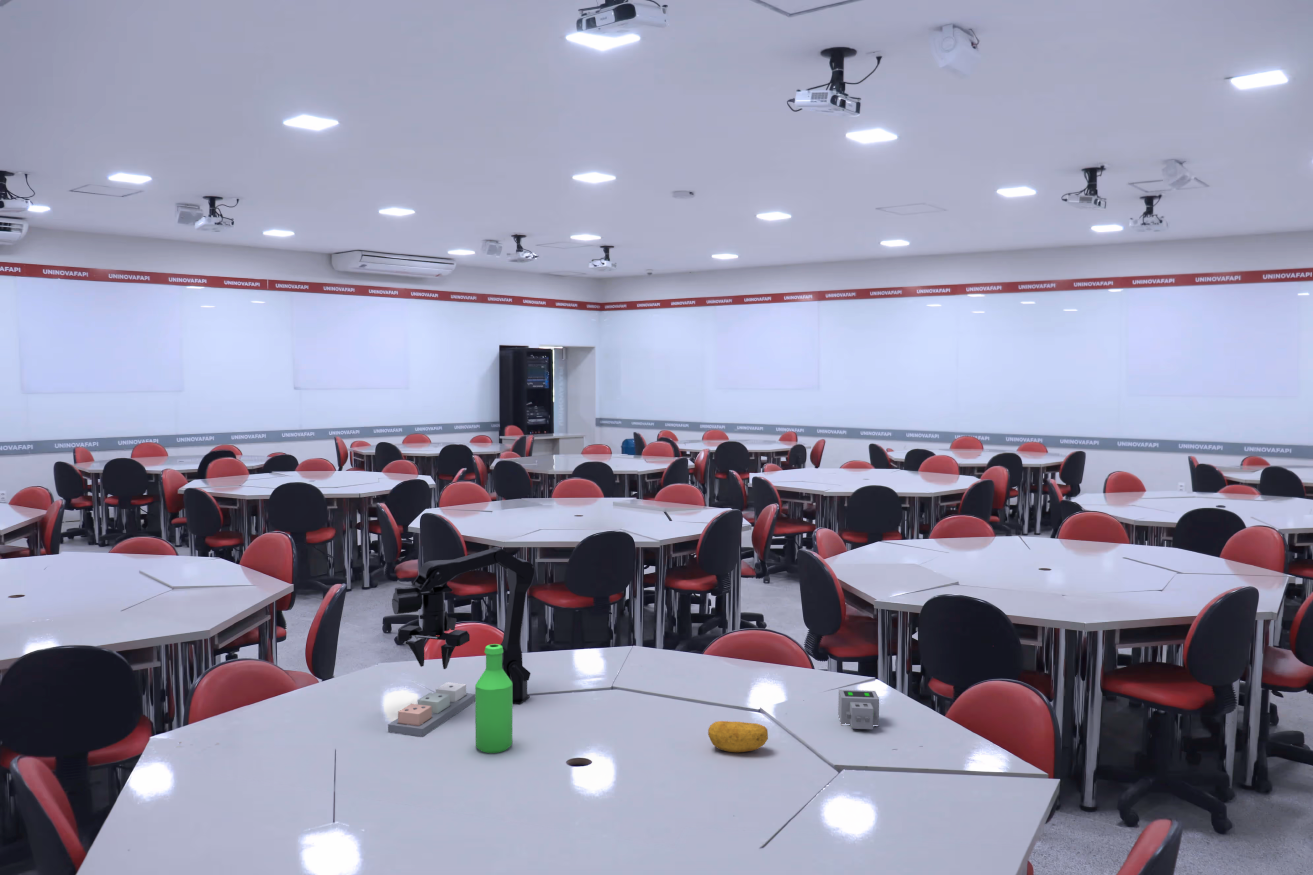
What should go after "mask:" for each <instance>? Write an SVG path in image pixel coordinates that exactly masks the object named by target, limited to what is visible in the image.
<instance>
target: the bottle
mask: <svg viewBox="0 0 1313 875" xmlns="http://www.w3.org/2000/svg"><path fill="white" fill-rule="evenodd" d="M502 653H503V647H502V646H501V644H500V643H499V644H498V643H493V644H492V643H491V644H488V645H486V646H485V648H484V654H485V670H484V671H483V673H482V674H481V676H480V677H479V679H478V680H477V681H476V684H475V689H474V690H475V691H474V692H475V693H474V694H475V705H474V706H475V710H474V711H475V713H474V714H475V747H476V749H478V750H479V751H481V752H482V753H485V754H486V753H487V754H497V753H498V754H499V753H502V752H505V751H506V750H508V749H509V748H510V747H511V746H512V745H513V707H514V706H513V704H514V703H513V683H512V681H511V680H510V679H509V677H508V676H507V674H506V673H505V672H504V670H503V669H502Z"/></svg>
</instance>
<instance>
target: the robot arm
mask: <svg viewBox="0 0 1313 875" xmlns="http://www.w3.org/2000/svg"><path fill="white" fill-rule="evenodd" d="M492 565H499V566H500V567H502V568H503V569H505V570H506V580H507V585H508V589H509V592H508V598H507V599H508V600H507V608H506V615H505V622H504V629H503V630H504V631H503V636H502V637H503V638H502V642H501V643H500V645H501V646H502V647H503V653H502V669H503V670H504V672H505V673H506V674H507V676H508V677H509V679H510V680H511V681H512V683H513V704H518V705H520V704H523V703H524V702H525V701H526V700H528V699H529V698H530V696H531V695H530V694H528V681H529V680H530V678H531V672H530V671H529V670H528V669H527V668H526V667H524V666H523V652H522V648H521V644H520V642H521V636H522V629H523V628H522V626H523V619H524V613H525V605H526V598H527V596H526V595H527V592H528V590H529V589H530V588H531V586H532V584H533V580H534V578H535V574H536V573H535V572H536V569H535V566H534V565H533V563H531V562H530V561H527V560H524V559H523V558H522V559H521V558H517V557H515V556H513V555H512V554H510V553H508V552H507V551H506V550H505V549H503V548H500V547H498V546H494V547H491V548H489V549H486V550H482V551H479V552H475V553H471V554H469V555H465V556H462V557H457V558H455V559H443V560H442V559H439V560H437V559H436V560H429V561H426V562H424V563H423V564H422V565H421V567H420V569H419V573H418V575H417V576H416V578H415V579H414V581H413V582H412V584H411V586H409V587H408V586H407V587H402V586H401V587H400V586H399V587H395V588H394V593H393V595H392V599H391V607H392V611H393V614H394V615H402V614H404V615H405V614H410V613H411V614H412V613H418V612H419V611H420V610H421V609H422V611H421V612H422V613H421V614H419V619H420V620H422V621H421V622H422V627H421V626H420V625H406V626H405V627H402V628H400V629H399V630H398V632H397V641H401V642H405V645H407V646H408V647H409V648H410V650H411V651H412V653H413V654H414V656H415V659H416V660H417V662H418V665H419V666H420V667H421V668H422V667H424V666H425V643H426V640H427V639H429V640H436V641H437V640H438V641H445V642H444V643H445V644H442V645H441V646H440V650H441V662H442V669H443V670H446V669H448V665H449V663H450V660H451V658H452V655H453V652H454V651H455V648H456V647H461V646H463V645H465V644H466V643H469V642H470V639H471V638H470V637H471V636H470V633H469V632H468V630H462V629H456V624H457V618H456V617H455V618H454V617H451V616H448V611H445V593H451V592H453V589H452V588H451V587H450V586H449V585H448V582H450V581H451V580H453V579H454V578H456V577H457V576H459V575H460V574H464V573H465V574H466V573H469V572H472V571H475V570H478V569H482V568H485V567H488V566H492ZM449 631H451V632H449Z"/></svg>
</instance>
